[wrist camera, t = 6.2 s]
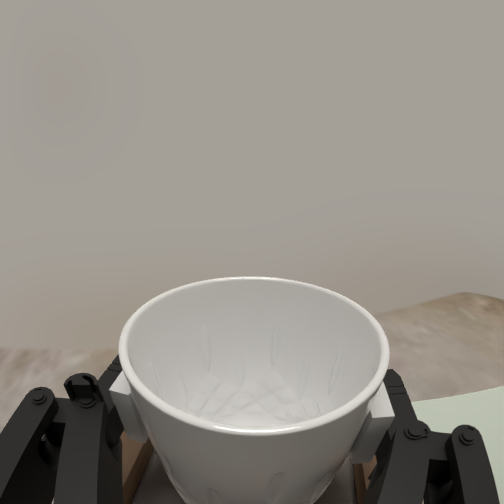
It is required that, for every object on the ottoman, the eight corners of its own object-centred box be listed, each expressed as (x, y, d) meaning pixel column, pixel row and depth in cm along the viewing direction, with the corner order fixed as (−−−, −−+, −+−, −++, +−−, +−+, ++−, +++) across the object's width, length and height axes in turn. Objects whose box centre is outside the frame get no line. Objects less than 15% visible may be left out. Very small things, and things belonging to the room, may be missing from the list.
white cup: (284, 573, 7) (349, 489, 4) (140, 496, 10) (67, 339, 7) (346, 457, 13) (400, 301, 10) (226, 413, 17) (221, 262, 14)
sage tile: (519, 384, 15) (521, 380, 15) (578, 479, 4) (581, 476, 4) (406, 406, 16) (408, 402, 16) (450, 557, 5) (454, 554, 5)
